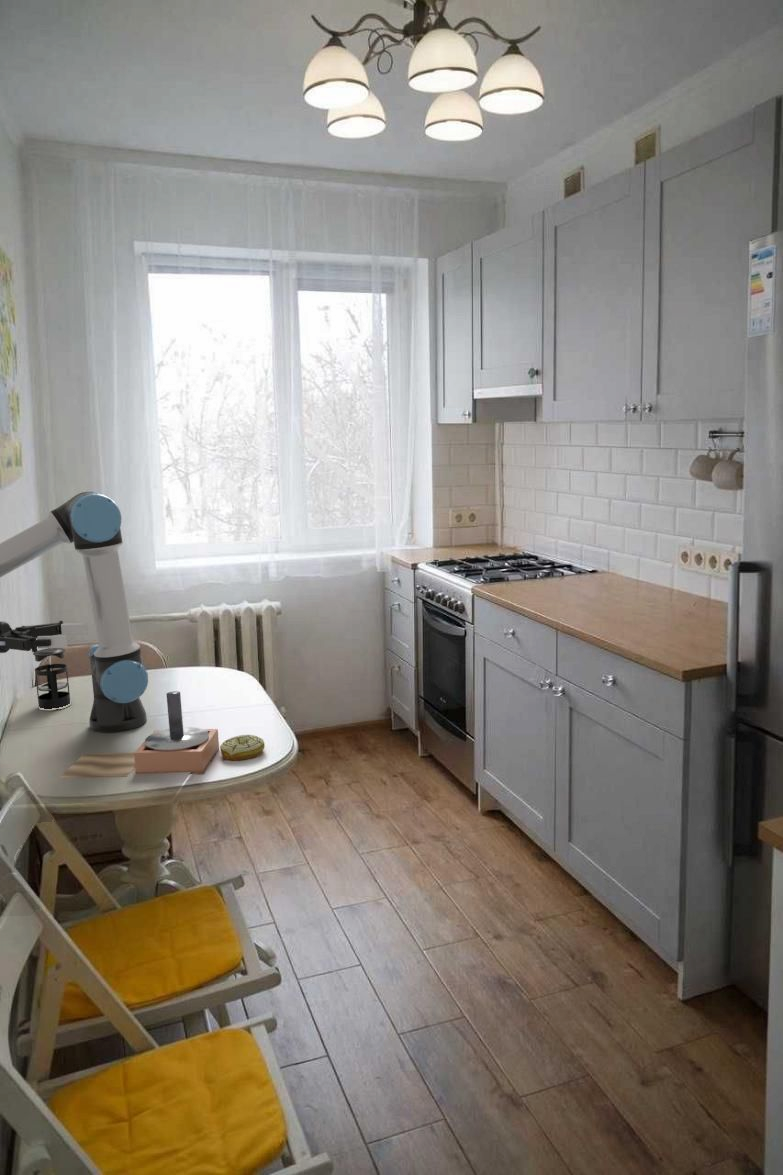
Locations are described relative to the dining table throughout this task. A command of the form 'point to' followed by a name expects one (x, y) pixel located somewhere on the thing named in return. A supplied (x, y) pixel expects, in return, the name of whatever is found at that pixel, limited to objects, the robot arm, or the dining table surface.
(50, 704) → the french press
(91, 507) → the robot arm
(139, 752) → the terracotta square tray
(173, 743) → the lid
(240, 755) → the decorated donut
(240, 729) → the dining table surface
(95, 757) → the trivet
